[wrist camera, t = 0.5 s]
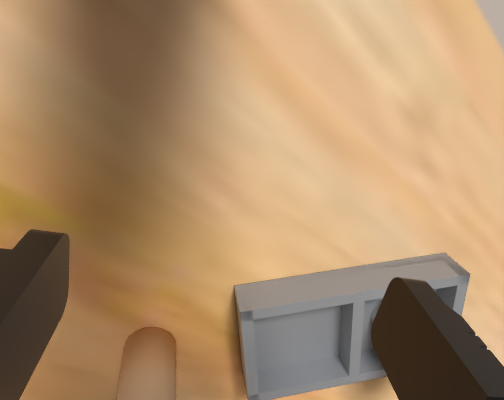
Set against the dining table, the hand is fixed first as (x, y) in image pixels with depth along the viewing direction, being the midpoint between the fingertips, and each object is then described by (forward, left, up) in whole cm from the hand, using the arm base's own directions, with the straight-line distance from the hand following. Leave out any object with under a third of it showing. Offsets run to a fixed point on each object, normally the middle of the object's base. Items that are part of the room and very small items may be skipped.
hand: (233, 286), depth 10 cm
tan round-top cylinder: (+20, -7, -20) cm, 29 cm away
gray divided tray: (+20, +11, -20) cm, 31 cm away
